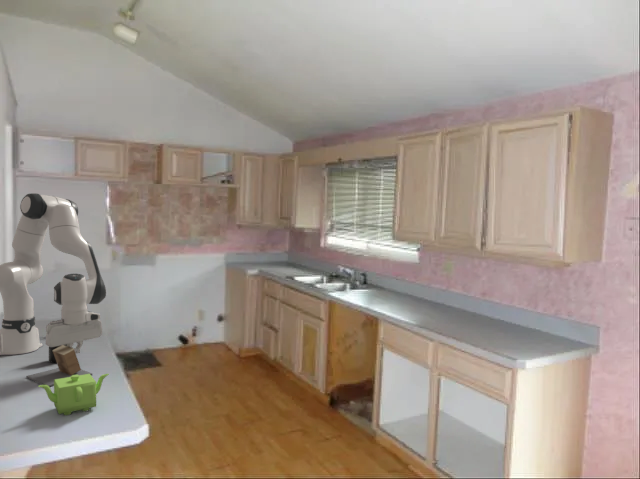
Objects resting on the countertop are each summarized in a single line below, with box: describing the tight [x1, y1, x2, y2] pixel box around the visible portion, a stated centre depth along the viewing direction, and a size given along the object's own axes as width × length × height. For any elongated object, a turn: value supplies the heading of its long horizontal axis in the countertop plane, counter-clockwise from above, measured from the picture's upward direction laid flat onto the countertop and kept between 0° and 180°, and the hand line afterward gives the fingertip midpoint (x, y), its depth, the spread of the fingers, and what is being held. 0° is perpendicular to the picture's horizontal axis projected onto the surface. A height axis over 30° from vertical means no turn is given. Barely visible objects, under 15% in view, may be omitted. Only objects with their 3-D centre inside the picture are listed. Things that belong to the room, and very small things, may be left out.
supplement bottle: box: [48, 344, 68, 364], centre depth 197 cm, size 7×7×12 cm
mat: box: [26, 367, 93, 388], centre depth 179 cm, size 16×16×1 cm
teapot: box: [37, 373, 110, 416], centre depth 150 cm, size 15×13×11 cm
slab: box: [52, 345, 82, 375], centre depth 181 cm, size 8×4×9 cm, turn 55°
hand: (75, 353), depth 183 cm, fingers closed
